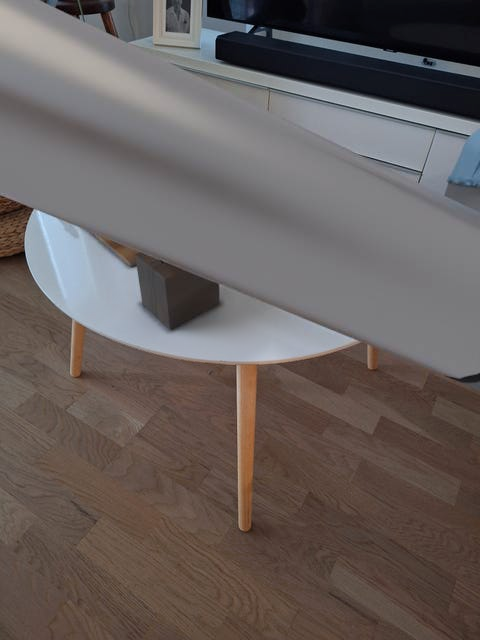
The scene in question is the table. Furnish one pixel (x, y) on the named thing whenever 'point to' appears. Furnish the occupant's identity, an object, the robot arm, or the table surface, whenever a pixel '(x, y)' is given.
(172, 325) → the knife block
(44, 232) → the table surface
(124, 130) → the robot arm
